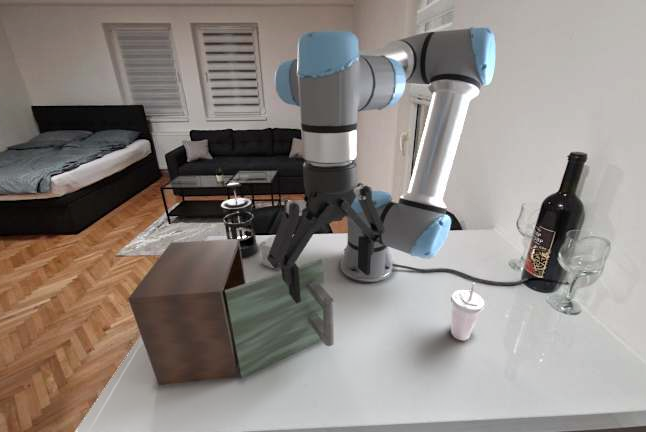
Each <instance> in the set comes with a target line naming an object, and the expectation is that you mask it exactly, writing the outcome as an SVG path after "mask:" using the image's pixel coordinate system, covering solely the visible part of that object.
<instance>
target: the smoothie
mask: <svg viewBox="0 0 646 432" xmlns="http://www.w3.org/2000/svg"><path fill="white" fill-rule="evenodd" d="M475 287H476V282H472V283H471V288H470V290H467V289H457V290H455V291H453V292H452V293H451V296H450V303H451V329H450V331H451V332H450V333H451V335H452V336H453V338H455V340H459V341H461V342H462V341H468V340H469V338H470V336H471V334H472V331H473V330H474V327H475V325H476V322H477V320H478V318H479V316H480V314H481V312H482V311H483V310H484V308H485V307H484V306H485V300H484V299H483V297H481V296H480V295H479V294H478V293H476V292H474V291H475Z"/></svg>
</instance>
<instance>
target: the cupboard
mask: <svg viewBox="0 0 646 432" xmlns="http://www.w3.org/2000/svg"><path fill="white" fill-rule="evenodd" d="M241 248H242V247H241V246H240V241H239V239H228V240H227V239H212V240H195V241H194V240H193V241H178V242H170V243H169V244H168V245H167V247H166V248H165V250H164V251H163V252H162V254H161V255H160V256H159V257H158V259H157V260H156V261H155V263H154V264H153V265H152V266H151V268H150V269H149V270H148V272H147V273H146V274H145V276H144V277H143V278H142V279H141V281H140V282H139V283H138V285H137V286H136V287H135V289H134V290H133V291H132V292H131V294H130V295H129V297H128V298H127V299H128V303H129V305H130V308H131V311H132V314H133V317H134V320H135V323H136V325H137V328H138V331H139V334H140V336H141V339H142V342H143V345H144V348H145V350H146V353H147V356H148V360H149V362H150V365H151V368H152V371H153V374H154V376H155V379H156V382H157V384H158V386H167V385H174V384H176V385H177V384H184V383H194V382H203V381H213V380H222V379H223V380H224V379H231V378H232V379H233V378H237V377H238V374H239V365H238V359H237V354H236V349H235V343H234V338H233V333H232V328H231V322H230V317H229V312H228V306H227V301H226V296H225V290H227V289H231V288H234V287H237V286H240V285H243V284H246V283H247V281H246V275H245V269H244V268H245V267H244V262H243V258H242V255H241Z"/></svg>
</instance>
